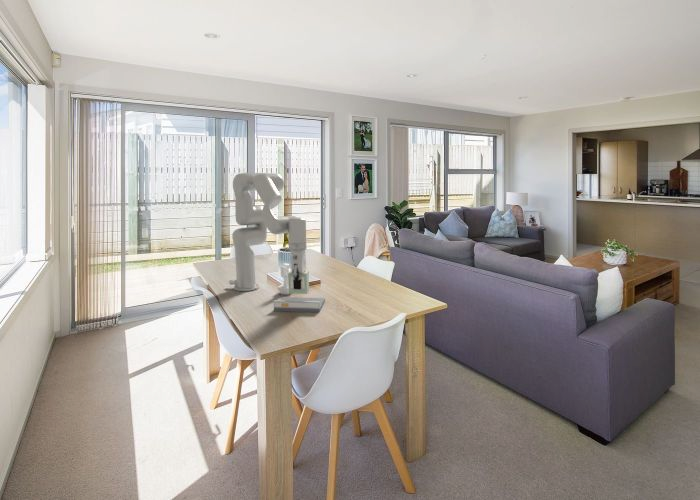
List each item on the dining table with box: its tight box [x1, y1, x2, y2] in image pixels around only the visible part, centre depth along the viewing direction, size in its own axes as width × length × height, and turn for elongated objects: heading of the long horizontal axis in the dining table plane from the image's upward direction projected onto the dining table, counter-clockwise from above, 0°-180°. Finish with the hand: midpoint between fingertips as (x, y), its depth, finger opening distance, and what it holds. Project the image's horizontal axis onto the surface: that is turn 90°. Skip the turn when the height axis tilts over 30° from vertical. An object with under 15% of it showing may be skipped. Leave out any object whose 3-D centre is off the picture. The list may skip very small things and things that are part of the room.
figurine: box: [277, 263, 291, 296], centre depth 206 cm, size 7×9×15 cm
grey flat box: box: [273, 296, 326, 313], centre depth 187 cm, size 20×16×4 cm
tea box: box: [288, 270, 310, 295], centre depth 182 cm, size 8×5×9 cm, turn 85°
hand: (298, 286), depth 182 cm, fingers closed on tea box, 5 cm apart
